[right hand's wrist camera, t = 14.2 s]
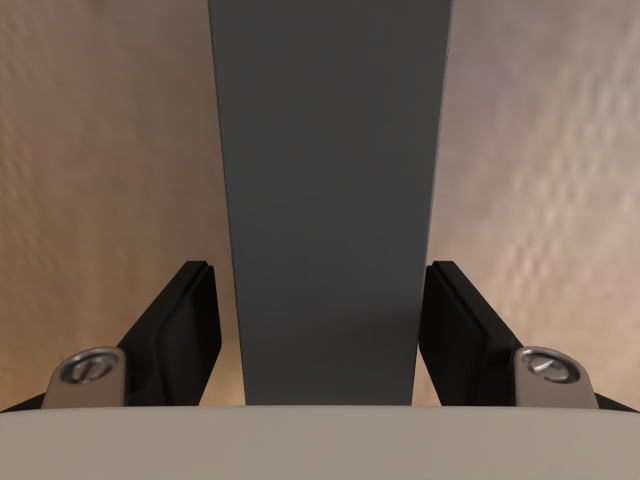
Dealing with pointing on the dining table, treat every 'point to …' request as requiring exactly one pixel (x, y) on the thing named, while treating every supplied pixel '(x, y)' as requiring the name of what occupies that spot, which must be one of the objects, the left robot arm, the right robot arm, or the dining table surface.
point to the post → (329, 189)
